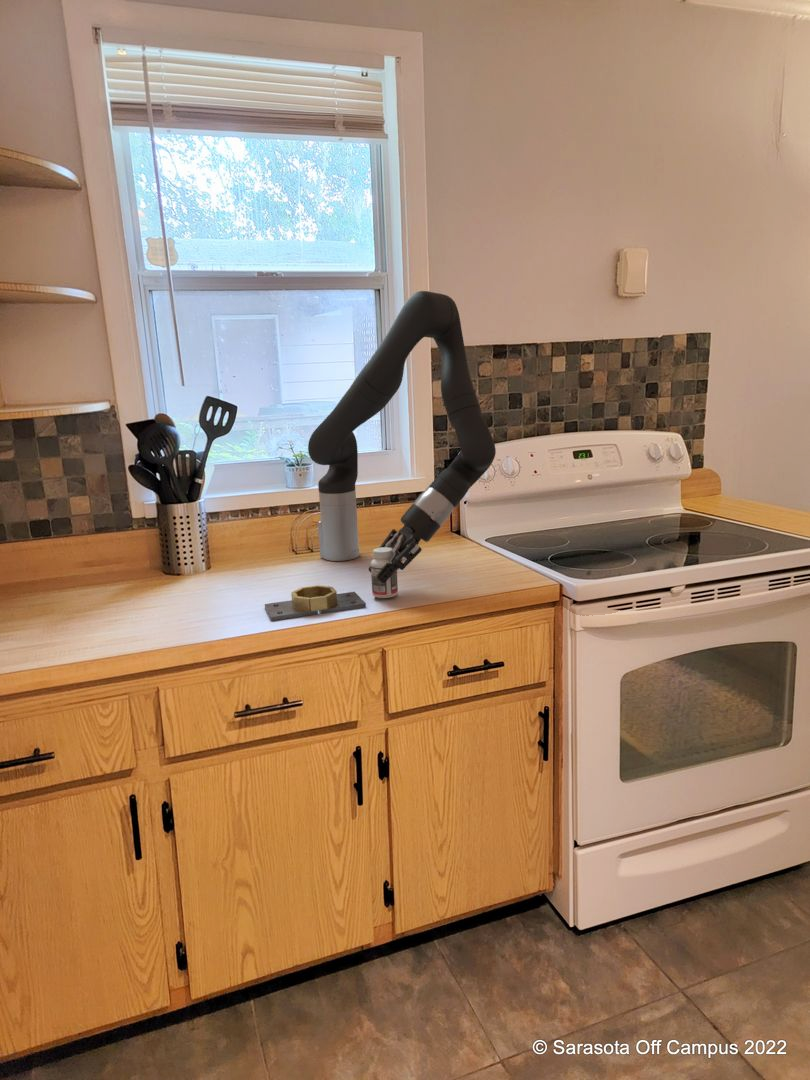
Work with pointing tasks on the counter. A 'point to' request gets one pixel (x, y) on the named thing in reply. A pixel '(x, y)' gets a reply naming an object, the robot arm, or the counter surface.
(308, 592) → the octagonal bottle holder
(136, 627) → the counter surface
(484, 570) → the counter surface
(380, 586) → the pill bottle
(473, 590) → the counter surface
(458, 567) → the counter surface
